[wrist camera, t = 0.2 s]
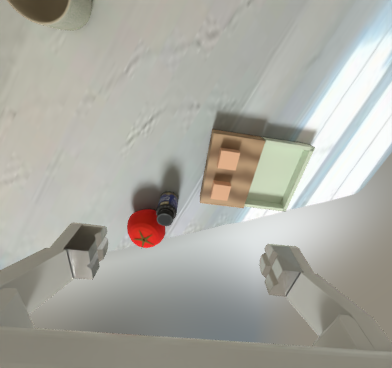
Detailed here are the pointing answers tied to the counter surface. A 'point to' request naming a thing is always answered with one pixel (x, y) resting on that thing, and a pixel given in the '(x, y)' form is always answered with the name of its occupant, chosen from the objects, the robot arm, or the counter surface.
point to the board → (238, 179)
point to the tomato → (145, 228)
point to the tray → (278, 174)
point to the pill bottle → (167, 208)
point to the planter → (55, 12)
